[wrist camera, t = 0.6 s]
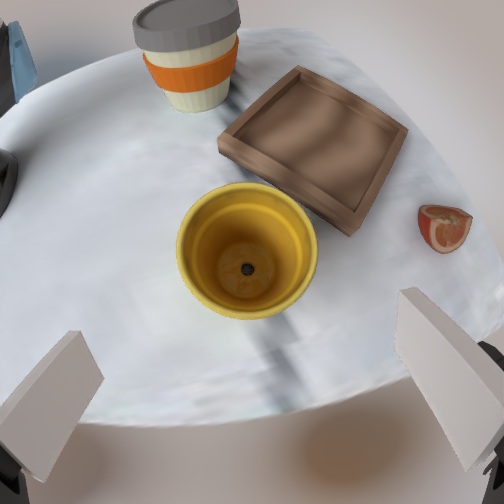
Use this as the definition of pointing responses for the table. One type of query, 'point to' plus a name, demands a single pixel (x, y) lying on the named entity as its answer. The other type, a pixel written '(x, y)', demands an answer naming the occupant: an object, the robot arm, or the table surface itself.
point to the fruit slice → (444, 227)
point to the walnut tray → (317, 146)
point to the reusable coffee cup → (190, 49)
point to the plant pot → (247, 250)
